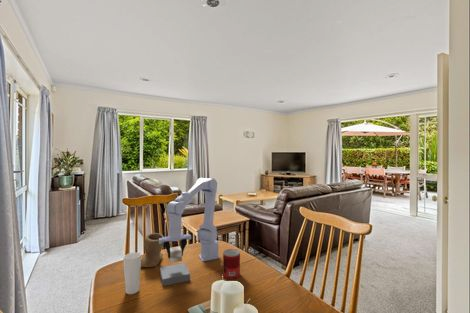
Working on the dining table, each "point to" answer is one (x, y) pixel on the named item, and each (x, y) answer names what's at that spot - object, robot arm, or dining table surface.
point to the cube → (175, 254)
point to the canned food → (231, 263)
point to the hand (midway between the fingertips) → (175, 256)
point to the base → (174, 274)
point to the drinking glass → (132, 272)
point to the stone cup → (152, 250)
